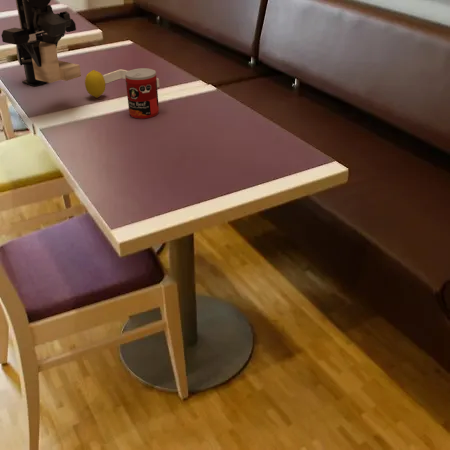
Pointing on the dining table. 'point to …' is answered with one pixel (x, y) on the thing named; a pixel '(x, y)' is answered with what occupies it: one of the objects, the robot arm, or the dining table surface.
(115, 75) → the corral
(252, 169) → the dining table surface
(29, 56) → the robot arm
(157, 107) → the canned food
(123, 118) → the dining table surface
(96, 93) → the lemon
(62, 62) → the stepped wooden corner piece
